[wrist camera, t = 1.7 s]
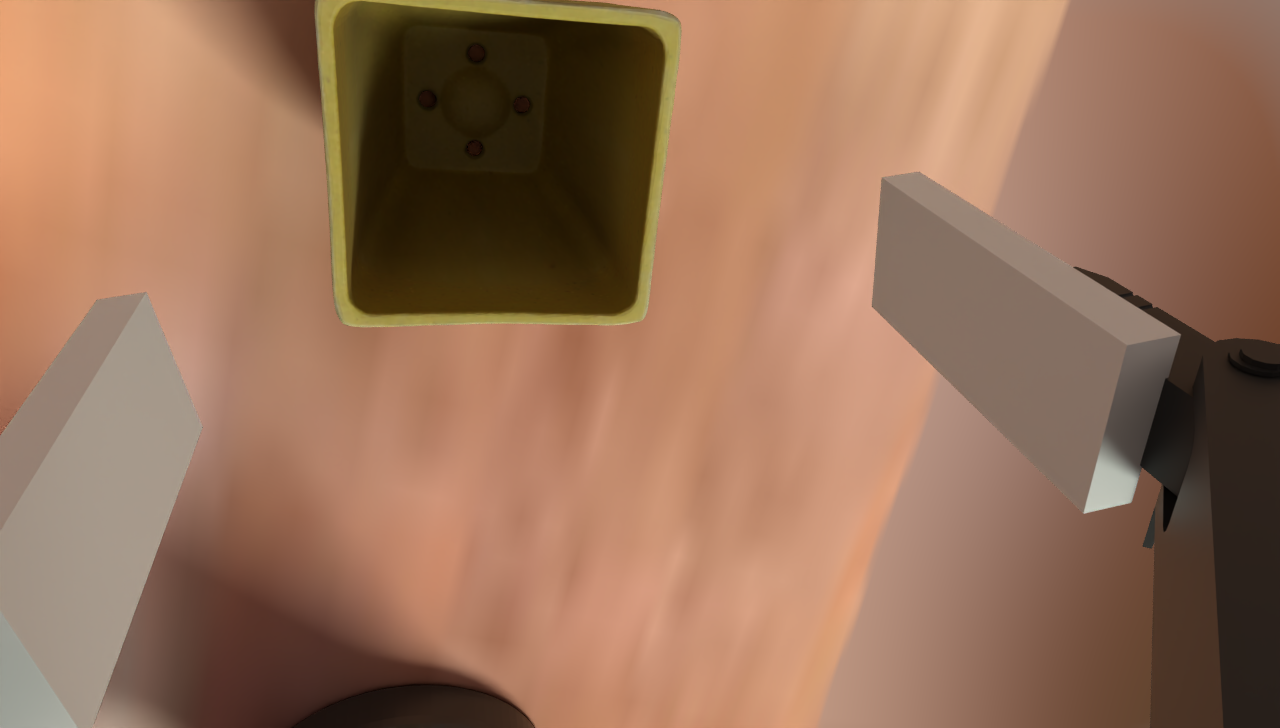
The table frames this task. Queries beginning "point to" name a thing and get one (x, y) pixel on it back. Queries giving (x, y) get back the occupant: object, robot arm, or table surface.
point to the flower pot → (494, 158)
